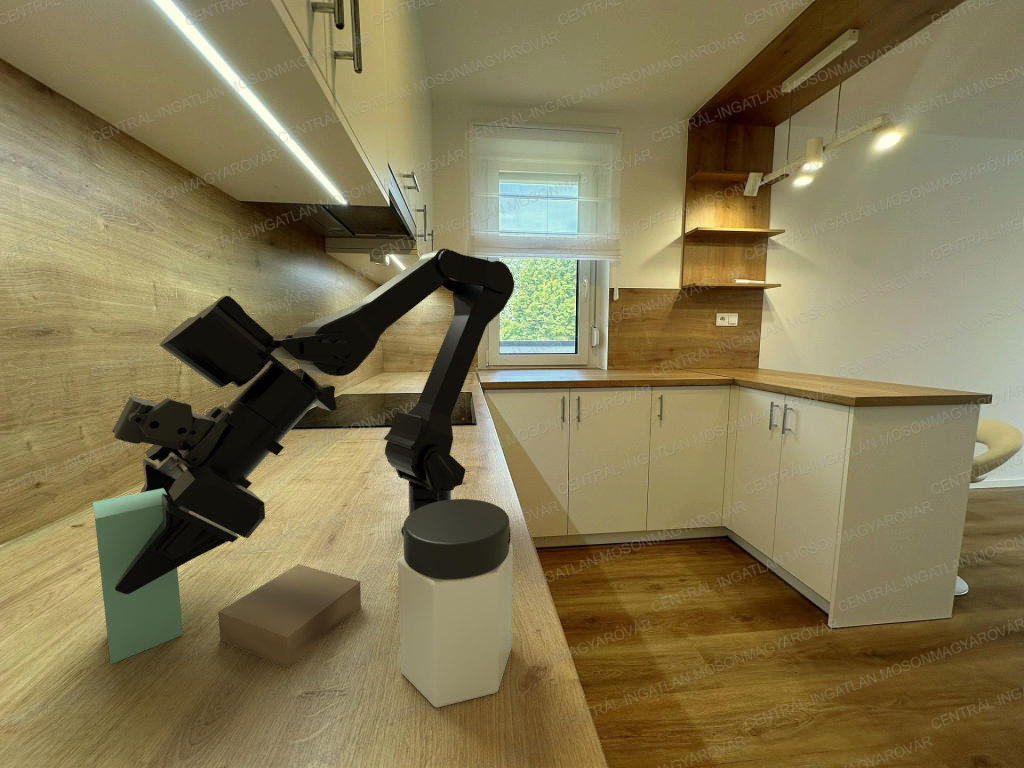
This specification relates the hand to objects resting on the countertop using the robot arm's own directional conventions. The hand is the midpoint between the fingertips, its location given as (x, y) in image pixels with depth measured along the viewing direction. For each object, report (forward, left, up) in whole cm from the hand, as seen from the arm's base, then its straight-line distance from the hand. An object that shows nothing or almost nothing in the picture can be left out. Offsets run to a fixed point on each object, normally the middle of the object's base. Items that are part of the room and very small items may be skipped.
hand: (116, 567), depth 34 cm
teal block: (-1, +1, -7) cm, 7 cm away
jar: (+1, +28, -7) cm, 29 cm away
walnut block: (-3, +13, -7) cm, 15 cm away
